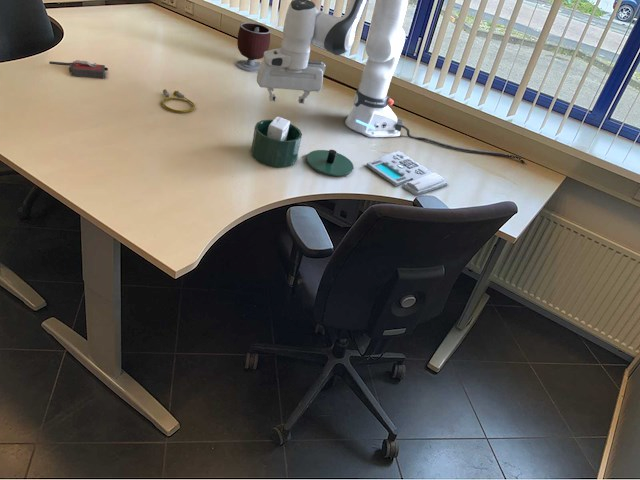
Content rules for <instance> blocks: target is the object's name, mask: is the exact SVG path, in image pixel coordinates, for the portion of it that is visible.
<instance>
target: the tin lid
mask: <svg viewBox="0 0 640 480" xmlns="http://www.w3.org/2000/svg"><path fill="white" fill-rule="evenodd" d="M306 162H307V164H308V165H309V167H310V168H311V169H313V170H315V171H317V172H318V173H321V174H324V175H328V176H333V177H345V176H348V175H349V174H351V173H352V172H353V170H354V164H353V162H352V161H351V160H350V159H349V158H348V157H346V156H345V155H344V154H341V153H339V152H337V151H336V150H335V149H329V150H327V149H316V150H312V151H310V152H309V153H308V154H307V156H306Z"/></svg>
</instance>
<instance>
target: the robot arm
mask: <svg viewBox="0 0 640 480" xmlns="http://www.w3.org/2000/svg"><path fill="white" fill-rule="evenodd" d="M368 2H369V0H349V3H348V5H347V8H346V10H345V12H344V15H343V16H338V17H337V16H334V15H332V14H329V13H326V12H325V11H323V10H320V9H318V8H317V6H316V4H315V2H314V1H312V0H292V1H290V2H289V4H288V8H287V11H286V13H285V18H284V22H283V27H282V28H283V29H282V36H283V38H282V41H281V43H280V47H278V48H273V49H268V51H265V52H264V57H263V60H262V61H261V62H260V66H259V70H258V72H257V75H256V83H257V84H258V86H259V87H260V88H264V89H266V90H267V91H268V95H269V102H272V103H273V102H276V98H277V97H276V95H275V94H273V92H274V89H276V90H277V89H278V90H290V91H303V93H302V95H299V96H298V101H297V102H298V104H302V105H304V104H305V101H306V99H307V98H308V96H309V95H310V93H311V92H317V93H319V92H320V91H322V88H323V81H324V74H325V72H326V64H325V63H324V62H323V61H322V60H315V59H310V56H311V44H312V45H313V46H316V47H319V48H321V49H323V50H325V51H327V52H329V53H331V54H333V55H334V56H341V55H343V54H346V53H347V52H349V51H350V50H351V48H352V47H353V45H354V41H355V38H356V34H357V30H358V28H359V25H360V23H361V20H362V17H363V14H364V13H365V9H366V7H367V4H368ZM408 2H409V0H375V3H374V10H373V14H372V18H371V22H370V26H369V32H368V37H367V41H366V45H365V53H366V55H367V60H366V62H365V65H364V67H363V69H362V73H361V76H360V81H359V85H358V87H357V88H356V91H355V94H354V98H353V104H352V107H351V109H350V111H349V113H348V116H347V118H346V119H345V121H344V123H345V125H346V126H347V127H348V129H351V130H353V131H354V132H356V133H360V134H362V135H364V136H366V137H368V138H392V137H400V136H401V131H402V128H403V129H404V130H405V131H406V135H407V136H408V137H409V138H411V139H415V140H417V141H425V142H429V143H432V144H435V145H439V146H442V147H445V148H450V149H454V150H458V151H464V152H469V153H470V152H471V153H478V154H487V155H494V156H502V157H506V158H507V157H508V158H513V159H518V158H519V159H518V160H519V161H520V162H521V163H522V164H526V161H525V160H524V159H523V158H522V157H521V156H518V155H514V154H508V153H505V152H504V153H503V152H496V151H489V150H479V149H471V148H466V147H460V146H454V145H450V144H447V143H443V142H440V141H437V140H433V139H430V138H427V137H420V136H414V135H411V133H410V129H409V128H408V127H407V126H406V125H404V124H403V120H402V119H399V118H398V117H397V115H396V114H395V112H394V111H393V109H392V108H391V107H390V106H393V105H394V103H395V101H394V100H393V99H392V98H390V96H389V95H387V94H388V91H389V89H390V84H391V81H392V77H393V75H394V73H395V70H396V67H397V65H398V62H399V59H400V57H401V55H402V52H403V49H404V46H405V42H406V32H405V30H404V28H403V25H404V20H405V16H406V13H407V10H408ZM505 154H507V155H505ZM509 155H510V156H509ZM512 156H513V157H512ZM515 157H516V158H515ZM520 159H523V160H524V161H523V160H520Z"/></svg>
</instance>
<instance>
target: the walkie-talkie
mask: <svg viewBox="0 0 640 480" xmlns="http://www.w3.org/2000/svg"><path fill="white" fill-rule="evenodd" d="M48 63H49V65H54V66H65V67H66V66H67V67H68V72H69V74H71V76H73V77H80V78H93V79H94V78H95V79H105V78H106V72H107V71H109V68H108V67H106V66H105V64H97V63H96V62H94V63H90V62H89V61H87V60H78V59H77V60H73V61H72V62H64V61H63V62H62V61H52V60H51V61H48Z"/></svg>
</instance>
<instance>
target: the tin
mask: <svg viewBox="0 0 640 480" xmlns="http://www.w3.org/2000/svg"><path fill="white" fill-rule="evenodd" d="M273 120H274V119H269V118H268V119H262V120H259V121H258V122H256V123H255V125H254V129H253V136H252V142H251V147H250V148H251V149H250V153H251V156H252V158H253V159H254V160H255V161H257V162H258V163H259V164H262V165H264V166H266V167H271V168H277V169H283V168H285V169H286V168H289V167H290V168H291V167H292V166H293V165H295V164H296V163H297V159H298V156H299V152H300V151H299V150H300V147H301V142H302V136H303V133H302V131H301V129H300V128H298V127H297V126H296V125H294V124H292V123H290V125H289V129H288V134H287V139H286V141H282V140H276V139H272V138H269V137H267V134H268V128H269V125H270V123H271V122H272V121H273Z"/></svg>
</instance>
